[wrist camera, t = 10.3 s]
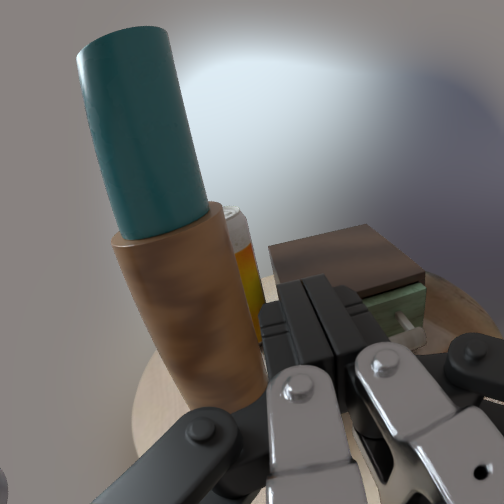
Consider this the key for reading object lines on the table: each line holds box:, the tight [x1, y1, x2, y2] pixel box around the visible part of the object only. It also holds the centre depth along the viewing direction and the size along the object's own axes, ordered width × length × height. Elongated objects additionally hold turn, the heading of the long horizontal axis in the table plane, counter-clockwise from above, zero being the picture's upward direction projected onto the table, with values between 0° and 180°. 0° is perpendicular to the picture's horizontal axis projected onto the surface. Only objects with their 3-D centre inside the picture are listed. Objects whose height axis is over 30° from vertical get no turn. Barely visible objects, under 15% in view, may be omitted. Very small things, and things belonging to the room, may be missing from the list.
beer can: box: [223, 206, 266, 345], centre depth 32 cm, size 6×6×15 cm
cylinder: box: [76, 26, 210, 240], centre depth 17 cm, size 6×6×12 cm
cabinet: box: [268, 224, 425, 298], centre depth 32 cm, size 14×13×9 cm
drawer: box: [361, 282, 427, 351], centre depth 28 cm, size 17×11×7 cm
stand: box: [111, 201, 268, 414], centre depth 23 cm, size 8×8×18 cm
